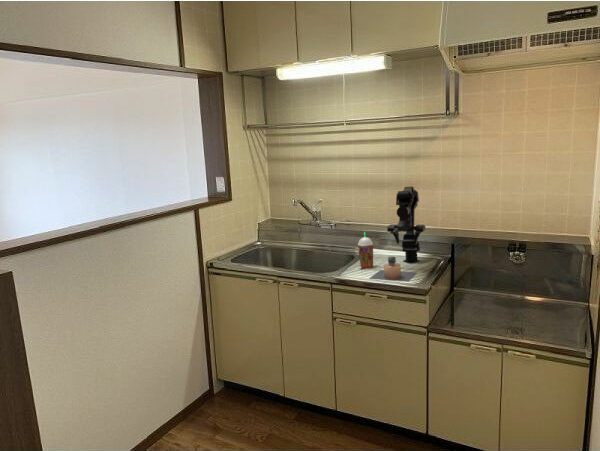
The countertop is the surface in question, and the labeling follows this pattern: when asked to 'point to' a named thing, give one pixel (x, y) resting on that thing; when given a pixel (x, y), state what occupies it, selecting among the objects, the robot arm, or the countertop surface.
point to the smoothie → (365, 252)
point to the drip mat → (404, 277)
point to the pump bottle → (392, 271)
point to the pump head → (391, 259)
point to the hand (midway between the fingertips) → (406, 244)
